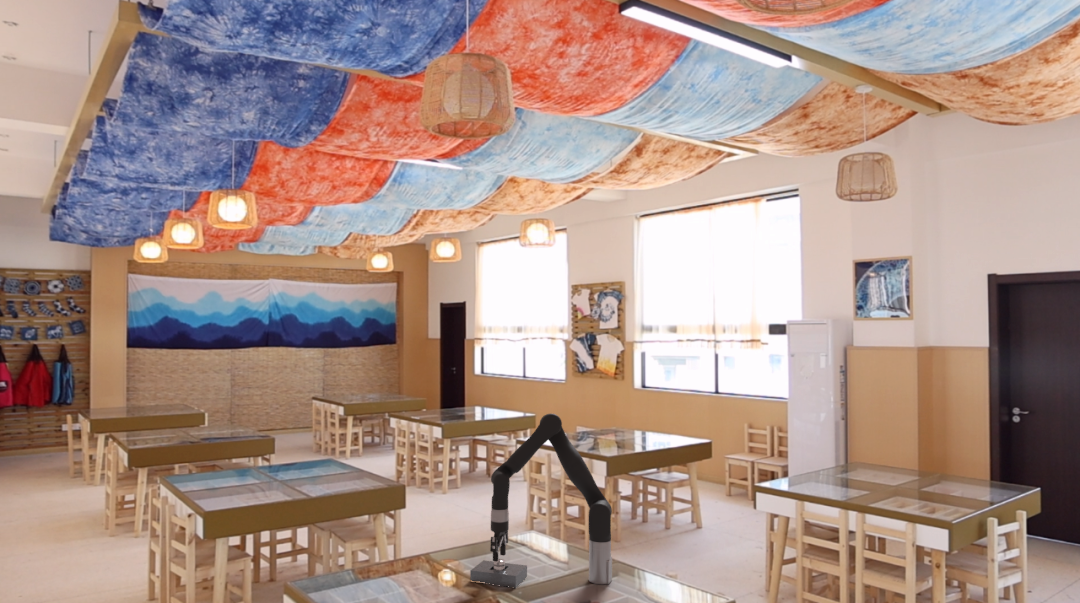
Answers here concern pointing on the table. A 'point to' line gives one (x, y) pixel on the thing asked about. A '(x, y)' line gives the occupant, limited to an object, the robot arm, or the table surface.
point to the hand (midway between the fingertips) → (499, 558)
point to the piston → (499, 565)
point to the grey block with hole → (499, 574)
